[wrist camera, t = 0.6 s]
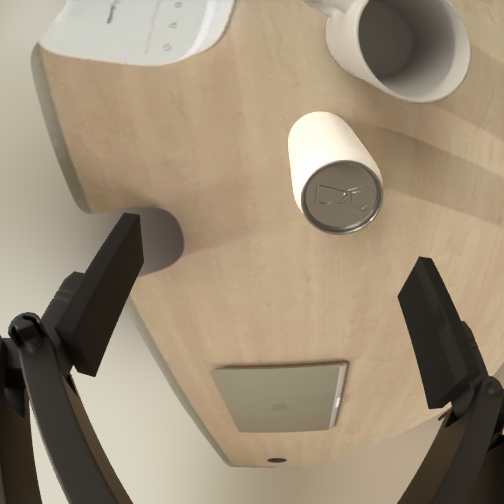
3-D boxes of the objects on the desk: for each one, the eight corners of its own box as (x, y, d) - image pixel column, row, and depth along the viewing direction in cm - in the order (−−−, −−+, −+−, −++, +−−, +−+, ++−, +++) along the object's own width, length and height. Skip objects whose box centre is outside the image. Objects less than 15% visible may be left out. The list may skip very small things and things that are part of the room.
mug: (426, 30, 21) (491, 37, 13) (386, 96, 26) (435, 129, 18) (314, -38, 19) (335, -74, 10) (273, 34, 24) (273, 31, 15)
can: (347, 174, 32) (376, 243, 22) (285, 168, 32) (289, 236, 22) (356, 114, 28) (399, 161, 18) (290, 106, 28) (299, 148, 18)
